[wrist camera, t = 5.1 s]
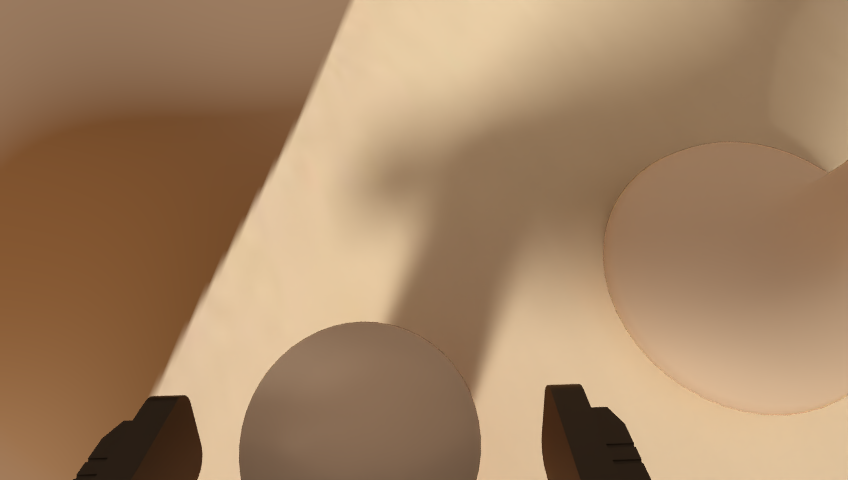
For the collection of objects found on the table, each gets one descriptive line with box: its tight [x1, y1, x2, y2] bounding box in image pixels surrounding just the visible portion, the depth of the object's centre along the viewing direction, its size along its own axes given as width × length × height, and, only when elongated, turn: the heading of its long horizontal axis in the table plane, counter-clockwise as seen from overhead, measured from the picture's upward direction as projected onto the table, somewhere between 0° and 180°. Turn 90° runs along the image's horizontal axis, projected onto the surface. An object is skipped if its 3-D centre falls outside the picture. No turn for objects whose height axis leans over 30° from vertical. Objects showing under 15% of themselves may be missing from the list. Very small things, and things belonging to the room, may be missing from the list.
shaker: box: [239, 322, 481, 480], centre depth 16 cm, size 5×5×12 cm
